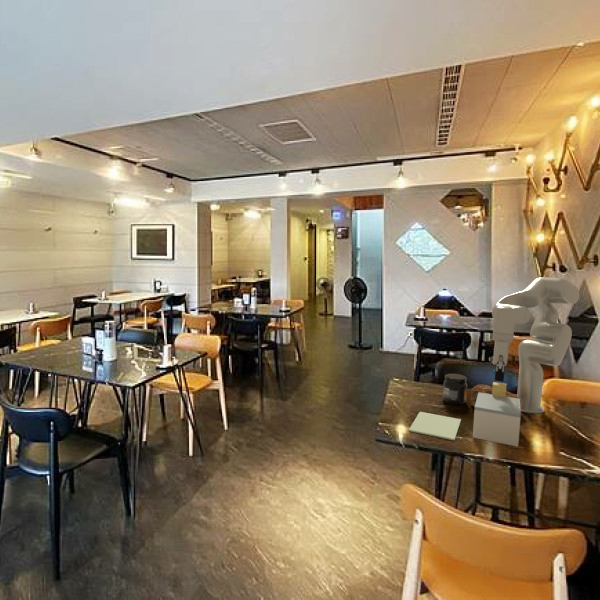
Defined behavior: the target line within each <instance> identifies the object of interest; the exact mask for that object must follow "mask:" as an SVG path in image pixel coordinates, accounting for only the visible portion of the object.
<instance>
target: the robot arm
mask: <svg viewBox="0 0 600 600" xmlns="http://www.w3.org/2000/svg"><path fill="white" fill-rule="evenodd" d="M579 298H580V291H579V288H578V287H577V286H576V285H574V284H573V283H572V282H571V281H569V280H568V279H565V278H562V277H548V276H544V277H543V276H542V277H541V276H540V277H537V278H535V279H534V280H532V282H530V283H529V284H528V285H527V286H526V287H525V288H524V289H523V290H521V291H518V292H515V293H512V294H509V295H506V296H503V297H502V298H500V299H499V300H498V301H497V302H496V303H495V304H494V306H493V307H492V309H491V315H492V318H493V329H492V340H493V341H494V347H493V359H492V365H494V366H495V372H494V374H495V375H494V382H500V383H502V382H503V383H504V380H505V370H506V369H505V367H506V366H507V363H508V358H509V351H510V343H513V342H514V334H515V333H514V332H515V325H524V324H526V323H528V322H529V321H530V319H531V315H532V314H531V311H530V309H531V308H535V307H538V309H537V310H538V312H537V314H536V317H535V319H534V322H533V323H532V325H531V328H530V331H529V336H530V337H531V339H525V340H522V341H521V342H520V343H519V344H518V351H517V352H518V363H519V365H518V366H519V371H518V381H517V382H518V383H517V394H516V396H517V397H519V398H520V400H521V406H520V407H521V408H520V410H521V413H522V412H523V413H526V414H535V415H536V414H543V413H544V412H545V408H544V407H543V406H542V404H541V403H542V395H543V394H542V393H543V381H544V370H543V367H542V366H541V364H542V365H545V366H552V367H558V366H560V365H561V364H562V362H563V359H564V358H565V355H566V353H567V351H568V349H569V346H570V343H571V340H572V335H573V333H572V332H573V331H572V328H571V326H569V325H568V324H565V323H562V322H561V323H560V322H559V321H558V320H559V318H560V314H559V311H558V310H557V308H556V307H555V306H554V304H561V305H567V306H568V305H574V304H576V303H577V302H578V301H579Z"/></svg>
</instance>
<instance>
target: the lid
mask: <svg viewBox="0 0 600 600" xmlns="http://www.w3.org/2000/svg"><path fill="white" fill-rule="evenodd" d="M492 387H493V389H492V394H486V393H479V392H478V396H477V400H476V404H475V406H474V410H479V411H484V412H490V413H496V414H502V415H507V416H513V417H519V418H520V419H521V417H522V415H521V414H522V411H521V410H520V399H518V398H511V397H506V391H507V383H504V382H503V383H502V382H498V381H493V382H492Z"/></svg>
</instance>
